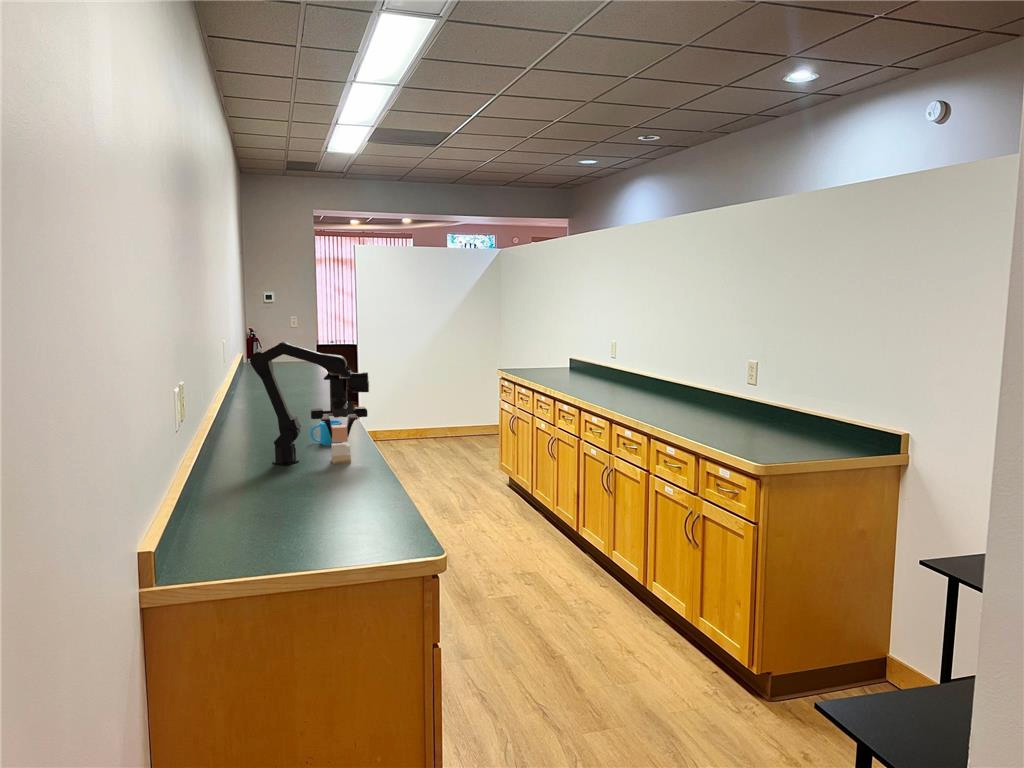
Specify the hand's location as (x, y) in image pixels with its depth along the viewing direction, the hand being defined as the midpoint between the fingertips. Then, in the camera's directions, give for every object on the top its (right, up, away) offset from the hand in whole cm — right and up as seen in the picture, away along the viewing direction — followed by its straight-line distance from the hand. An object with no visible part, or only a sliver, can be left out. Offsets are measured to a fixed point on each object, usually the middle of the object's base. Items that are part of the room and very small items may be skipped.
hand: (339, 437), depth 256 cm
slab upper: (0, -6, +1) cm, 6 cm away
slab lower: (0, -9, +1) cm, 9 cm away
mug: (-12, -5, +31) cm, 34 cm away
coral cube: (0, -1, 0) cm, 1 cm away
